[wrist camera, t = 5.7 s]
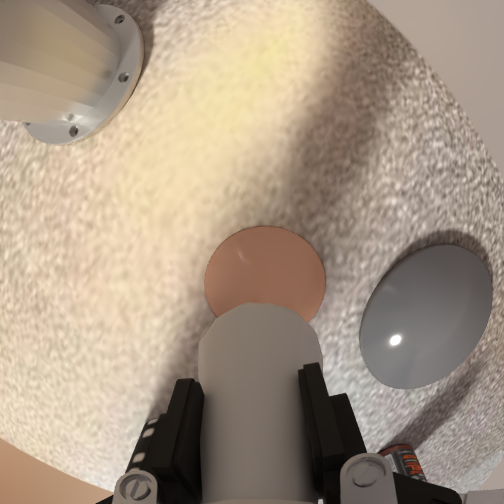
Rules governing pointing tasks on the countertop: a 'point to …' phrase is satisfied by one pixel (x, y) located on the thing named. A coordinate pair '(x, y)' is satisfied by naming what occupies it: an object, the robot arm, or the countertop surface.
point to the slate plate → (425, 316)
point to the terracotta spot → (265, 272)
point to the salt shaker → (256, 407)
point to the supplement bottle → (404, 461)
